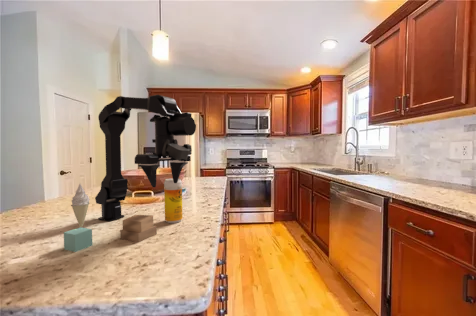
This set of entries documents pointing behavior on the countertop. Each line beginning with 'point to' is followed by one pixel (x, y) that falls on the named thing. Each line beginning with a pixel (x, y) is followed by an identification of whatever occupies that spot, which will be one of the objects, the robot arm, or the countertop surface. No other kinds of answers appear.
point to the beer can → (173, 200)
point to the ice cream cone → (80, 205)
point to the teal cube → (77, 239)
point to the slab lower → (138, 234)
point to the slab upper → (137, 223)
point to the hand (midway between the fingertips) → (165, 185)
